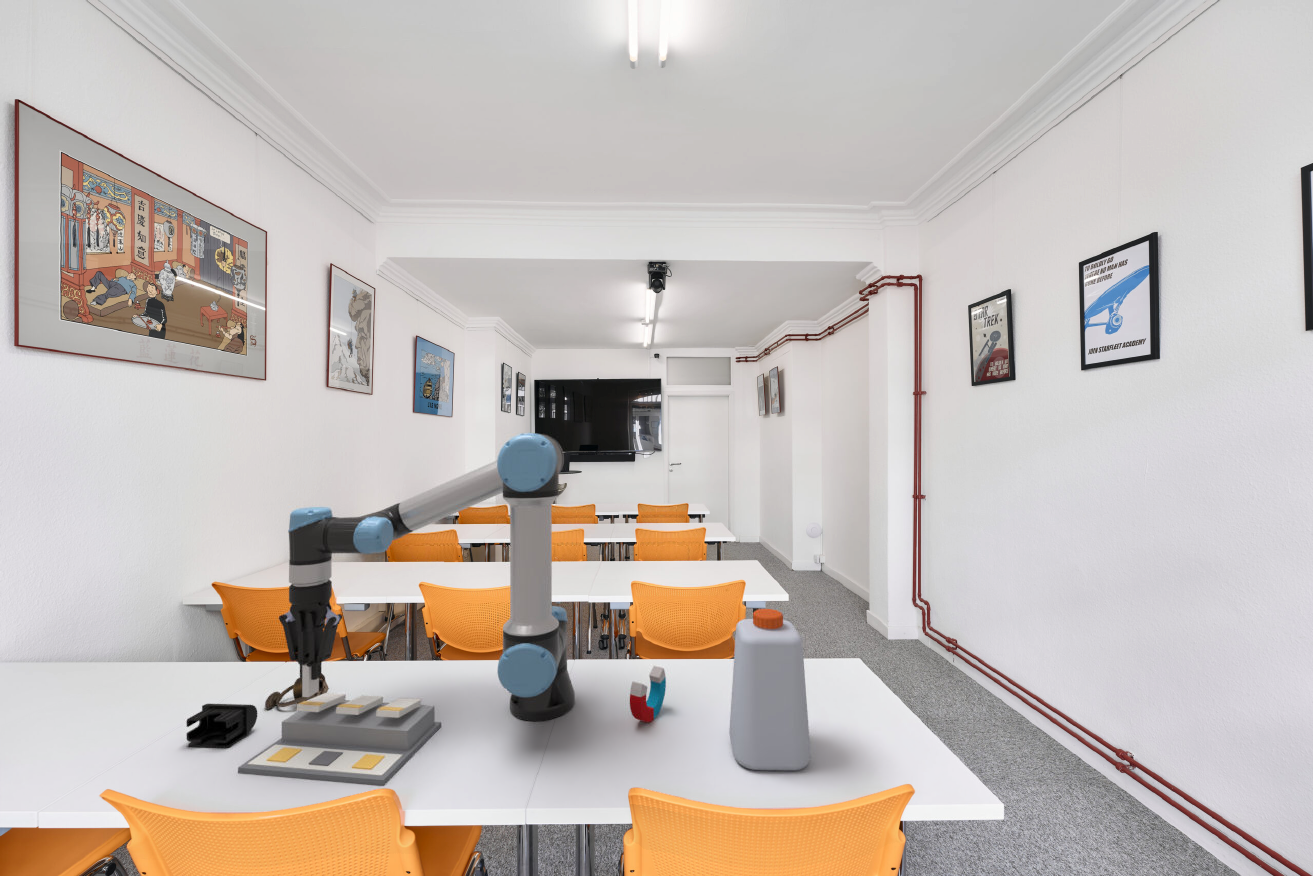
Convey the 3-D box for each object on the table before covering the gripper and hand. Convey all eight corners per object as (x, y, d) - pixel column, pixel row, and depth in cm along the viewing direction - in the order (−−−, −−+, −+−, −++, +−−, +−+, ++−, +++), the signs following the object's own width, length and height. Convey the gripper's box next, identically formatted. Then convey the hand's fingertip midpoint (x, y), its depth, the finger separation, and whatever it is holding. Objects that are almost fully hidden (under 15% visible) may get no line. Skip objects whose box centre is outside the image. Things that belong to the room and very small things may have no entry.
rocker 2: (420, 705, 115) (421, 698, 116) (398, 717, 107) (399, 710, 108) (399, 703, 116) (400, 697, 116) (375, 716, 108) (376, 709, 108)
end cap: (258, 730, 116) (258, 699, 116) (230, 749, 109) (230, 716, 109) (214, 729, 117) (214, 698, 117) (184, 747, 109) (184, 715, 109)
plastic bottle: (727, 729, 116) (726, 601, 116) (797, 730, 115) (796, 601, 115) (735, 773, 101) (735, 625, 101) (815, 774, 100) (815, 626, 100)
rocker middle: (382, 702, 116) (383, 696, 117) (357, 715, 109) (358, 707, 109) (361, 701, 117) (362, 694, 117) (335, 713, 109) (336, 706, 110)
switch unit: (441, 726, 117) (441, 704, 117) (383, 785, 97) (383, 758, 97) (317, 717, 121) (317, 695, 121) (237, 772, 101) (237, 746, 101)
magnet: (656, 705, 126) (656, 663, 126) (666, 708, 125) (666, 666, 125) (629, 729, 116) (629, 683, 116) (640, 732, 114) (639, 686, 114)
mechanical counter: (303, 694, 121) (336, 666, 131) (255, 685, 123) (291, 658, 133) (306, 721, 123) (338, 692, 132) (258, 711, 125) (294, 683, 134)
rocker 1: (345, 700, 118) (345, 693, 118) (318, 712, 110) (318, 705, 110) (324, 698, 118) (325, 692, 118) (296, 710, 110) (297, 703, 111)
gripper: (351, 578, 114) (351, 687, 114) (297, 576, 116) (296, 683, 116) (325, 587, 107) (325, 705, 107) (267, 585, 108) (267, 700, 108)
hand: (310, 693), depth 111 cm, fingers closed
